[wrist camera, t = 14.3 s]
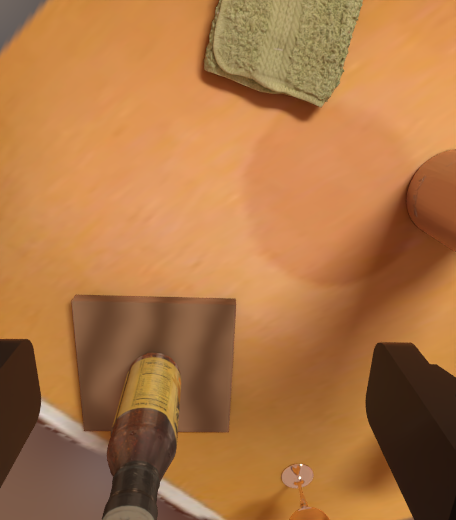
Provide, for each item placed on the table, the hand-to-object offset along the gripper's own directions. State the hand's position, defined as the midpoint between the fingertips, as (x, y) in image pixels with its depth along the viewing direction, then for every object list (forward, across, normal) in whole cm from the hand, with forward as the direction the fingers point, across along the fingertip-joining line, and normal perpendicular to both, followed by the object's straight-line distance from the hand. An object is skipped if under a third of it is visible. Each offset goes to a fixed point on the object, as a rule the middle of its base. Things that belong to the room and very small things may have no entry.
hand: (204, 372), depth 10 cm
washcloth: (+36, -7, -15) cm, 40 cm away
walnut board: (+35, +6, +24) cm, 43 cm away
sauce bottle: (+34, +6, +24) cm, 42 cm away
